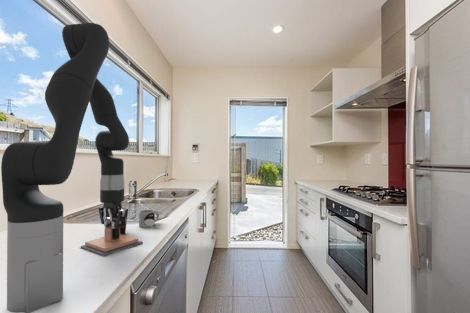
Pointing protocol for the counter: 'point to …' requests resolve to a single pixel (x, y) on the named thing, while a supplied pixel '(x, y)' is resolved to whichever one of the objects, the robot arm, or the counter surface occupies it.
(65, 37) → the robot arm
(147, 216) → the mug
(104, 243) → the lid
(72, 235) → the counter surface
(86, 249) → the mat
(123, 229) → the coffee mug
